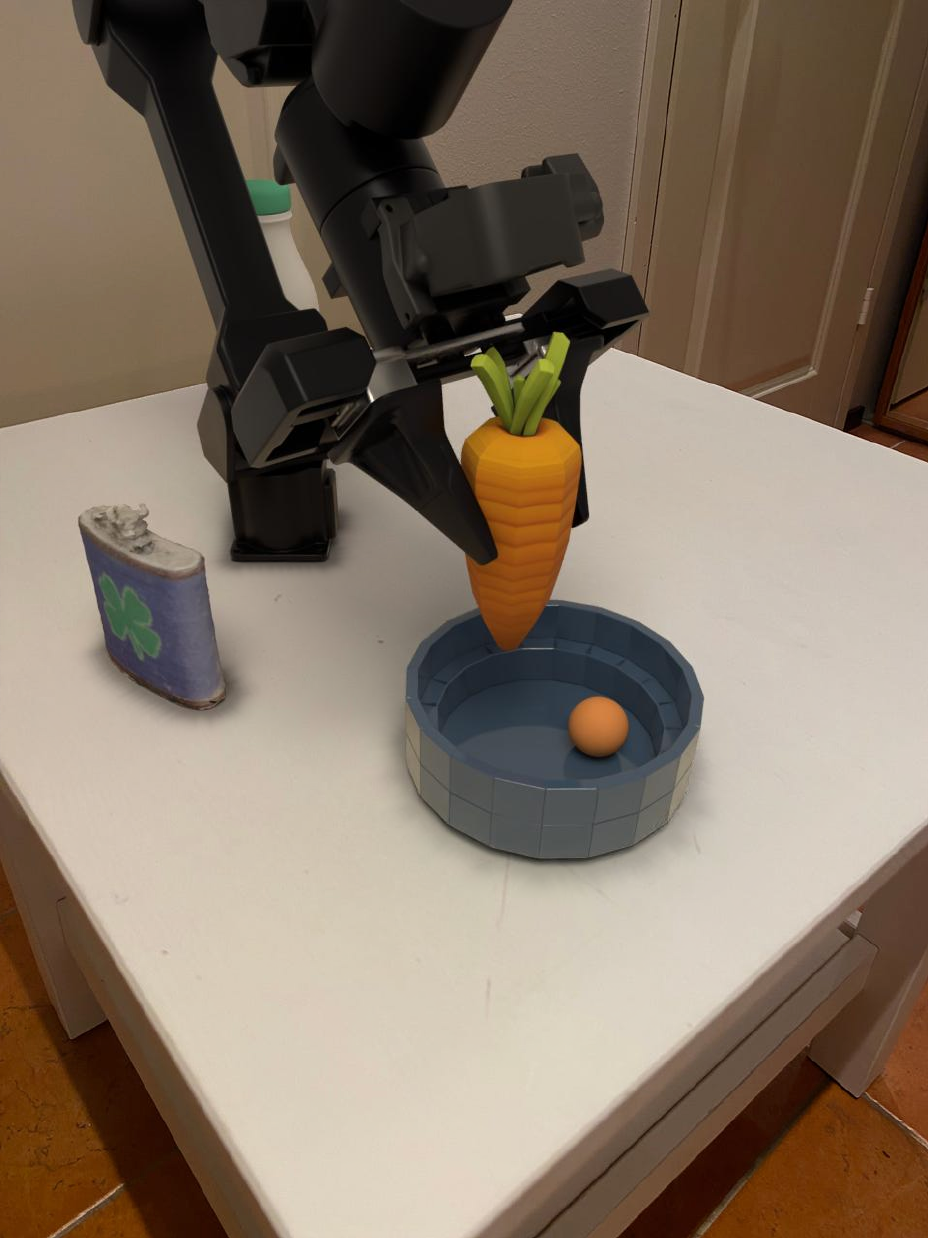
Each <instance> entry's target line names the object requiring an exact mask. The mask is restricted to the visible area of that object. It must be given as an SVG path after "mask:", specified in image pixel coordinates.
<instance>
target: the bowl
mask: <svg viewBox="0 0 928 1238" xmlns="http://www.w3.org/2000/svg"><path fill="white" fill-rule="evenodd" d="M404 697H405V698H404V699H405V741H406V742H405V746H406V747H405V748H406V749H405V751H406V767H407V770H408V771H409V773H410V775H411V776H410V777H411V779H412V780H413V783H414V785H415V787H416V789H417V792H418V794H419V796H420V797H421V799H422V800H424V802H426V804H427V805H428V806H430V808H431V809H432V810H433V811H434V812H436V814H437V815H438V816H440V818H441V819H442V820H443V821H444V822H445V823H446V824H447V825H448V826H450V827H451V828H454V829H456V830H458V831H460V832H461V833H463V834H465V835H467V836H469V837H471V838H472V839H475V840H477V841H479V842H480V843H482V844H484V845H485V846H487V847H490V848H492V849H497V850H500V851H504V852H509V853H513V854H517V855H521V856H525V857H530V858H533V859H587V858H593V857H596V856H597V857H598V856H600V855H603V854H608V853H610V852H614V851H617V850H622V849H625V848H628V847H631V846H634V845H635V844H637V843H639V842H640V841H641V840H643V839H644V838H646V837H647V836H649V835H651V834H652V833H653V832H655V831H656V830H658V829H659V828H661V827H662V826H664V825H666V823H668V821H669V820H670V818H671V817H672V816H673V814H674V812H675V811H676V809H677V808H678V806H679V805H680V804H681V802H682V800H683V798H684V797H685V795H686V794H687V789H688V785H689V781H690V776H691V771H692V767H693V762H694V759H695V754H696V750H697V746H698V741H699V737H700V731H701V728H702V722H703V721H702V720H703V711H704V704H705V703H704V702H705V695H704V693H703V690H702V688H701V684H700V682H699V680H698V677H697V674H696V672H695V668H694V667H693V665H692V664H691V663H690V662H689V660H687V659H686V658H685V657H684V655H683V654H682V653H681V652H680V651H679V650H678V649H677V647H676V646H675V645H674V643H672V641H670V640H669V639H667V638H665V637H664V636H662V635H661V634H660V633H658V632H657V631H655V630H654V629H651V628H650V627H648V626H647V625H646V624H644V623H642V622H641V621H639V620H637V619H634V618H632V617H629V616H627V615H623V614H621V613H618V612H616V611H612V610H610V609H608V608H605V607H603V606H602V607H601V606H598V605H593V604H587V603H580V602H576V601H569V600H565V599H549V601H548V602H547V604H546V606H545V608H544V610H543V611H542V613H541V615H540V617H539V619H538V620H537V622H536V623H535V624H534V626H533V627H532V628H531V630H530V631H529V632H528V634H527V635H526V636H525V638H524V639H523V640H522V642H521V643H520V644H519V646H518V647H517V648H516V649H513V650H511V651H508V652H507V651H504V650H503V649H501V648H500V647H498V645H497V643H496V642H495V640H494V638H493V636H492V634H491V633H490V631H489V629H488V627H487V625H486V623H485V622H484V620H483V618H482V616H481V613H480V611H479V608H478V607H476V608H474V609H470V610H469V611H467V612H463V613H462V614H460V615H456V616H454V617H453V618H449V619H448V620H446V621H445V622H444V623H442V624H441V625H439V627H438V628H436V629H435V630H433V632H431V633H430V634H429V635H427V636H426V637H425V638H424V639H422V641H421V642H420V643H419V645H418V647H417V648H416V651H415V652H414V654H413V656H412V658H411V659H410V662H409V663H408V665H407V667H406V670H405V696H404ZM591 697H605V698H608V699H611V700H613V701H615V702H616V703H617V704H619V705H620V706H621V708H622V709H623V710H624V712H625V714H626V716H627V719H628V724H629V731H628V736H627V738H626V741H625V742H624V744H623V745H622V747H621V748H620V749H619V750H617V751H616V752H614V753H613V754H611V755H608V756H603V757H595V756H590V755H587V754H585V753H583V752H582V751H580V750H579V749H578V748H577V747H576V746H575V745H574V743H573V741H572V740H571V737H570V734H569V729H568V723H569V718H570V715H571V713H572V711H573V709H574V708H575V707H576V706H577V705H578V704H579V703H580V702H582V701H583V700H585V699H588V698H591Z"/></svg>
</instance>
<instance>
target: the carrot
mask: <svg viewBox="0 0 928 1238" xmlns="http://www.w3.org/2000/svg"><path fill="white" fill-rule="evenodd" d="M569 344H570V341H569V340H568V338H567V337H566V336H565V335H564V334H563V333H559V332H553V334H552V337H551V340H550V342H549V345H548V348H547V350H546V353H545V356H544V359H539V360H538V362H537V363H536V365H535V366H534V368H533V369H532V371H531V372H530V374H529V376H528V378H527V379H526V381H525V378H523V377H521V376H520V375H518V376H517V377H515V378H514V379H513V387H514V399H515V404H514V399H513V394H512V390H511V385H510V381H509V377H508V373H507V370H506V366H505V363H504V361H503V359H502V358H501V356H500V354H499V353H498V352H497V350H496V349H495V348H494V347H492V348H490V349H488V351H487V352H486V353H485V355H483V354H480V355H475V357H474V358H473V360H472V362H471V368H472V369H473V371H474V372H475V374H476V376H477V378H478V379H479V381H480V382H481V383H482V386H483V387H484V390H485V392H486V394H487V395H488V397H489V400H490V402H491V403H492V406H493V405H494V407H495V409H496V411H497V413H498V415H499V416H498V417H495V416H493V417H489V418H488V419H487V420H486V421H485V422H483V423H482V424H481V425H480V426H479V427H478V428H476V429H475V430H474V431H472V433H470V434H469V435H468V436H467V437H466V438H465V439H464V442H463V443H462V447H461V453H460V465H461V467H462V469H463V471H464V473H465V475H466V477H467V479H468V482H469V484H470V486H471V488H472V490H473V492H474V494H475V496H476V499H477V501H478V503H479V505H480V507H481V509H482V511H483V513H484V515H485V518H486V520H487V522H488V525H489V528H490V531H491V533H492V536H493V539H494V542H495V545H496V548H497V551H498V557H497V559H495V560H494V561H492V562H490V563H489V564H486V565H483V566H481V565H479V564H478V563H476V562H475V561H474V560H473V559H472V558H471V557H469V556H468V555H467V554H466V553H465V552H464V556H465V563H466V568H467V573H468V578H469V582H470V587H471V592H472V595H473V598H474V600H475V603H476V605H477V608H479V611H480V613H481V616H482V618H483V620H484V622H485V623H486V625H487V627H488V629H489V631H490V633H491V634H492V636H493V638H494V640H495V642H496V643H497V645H498V647H500V648H501V649H503V650H504V651H507V652H508V651H511V650H513V649H516V648H517V647H518V646H519V644H520V643H521V642H522V640H523V639H524V638H525V636H526V635H527V634H528V632H529V631H530V630H531V628H532V627H533V626H534V624H535V623H536V622H537V620H538V619H539V617H540V615H541V613H542V611H543V610H544V608H545V606H546V604H547V602H548V601H549V600H551V596H552V594H553V591H554V588H555V586H556V583H557V580H558V577H559V575H560V572H561V569H562V566H563V563H564V560H565V557H566V553H567V549H568V546H569V543H570V538H571V533H572V528H571V527H572V522H573V516H574V511H575V505H576V498H577V491H578V484H579V477H580V470H581V450H580V446H579V445H578V443H577V442H576V441H575V440H574V439H573V438H572V437H571V436H570V435H569V434H568V433H567V432H566V431H565V430H564V429H563V428H562V426H561V425H560V424H559V423H558V422H556V421H553V420H550V419H546V418H541V417H542V414H543V412H544V410H545V408H546V406H547V404H548V403H549V401H550V400H551V398H552V396H553V395H554V393H555V392H556V390H557V389H558V387H559V385H560V383H561V382H560V381H559V380H558V377H559V375H560V372H561V369H562V367H563V364H564V361H565V358H566V354H567V350H568V347H569Z"/></svg>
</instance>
